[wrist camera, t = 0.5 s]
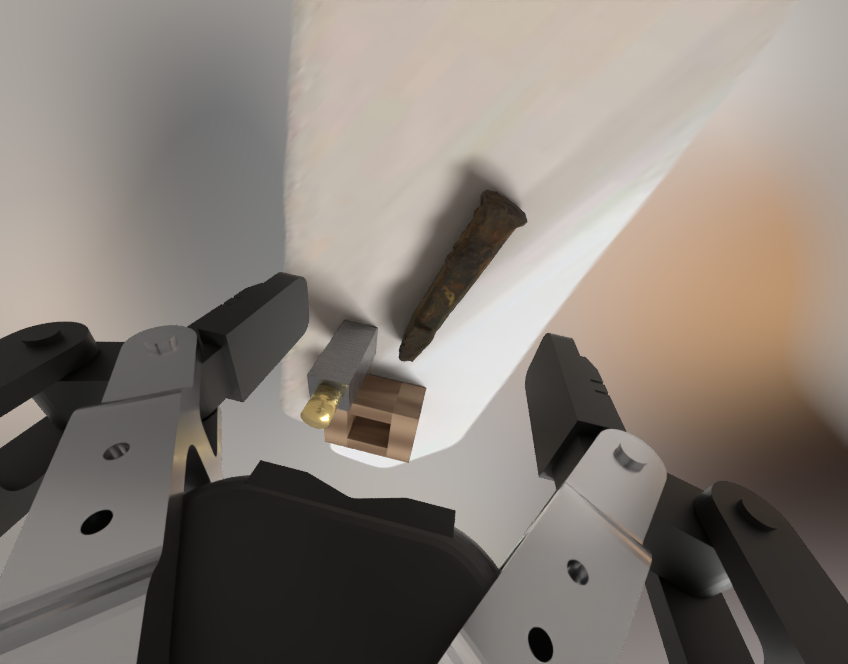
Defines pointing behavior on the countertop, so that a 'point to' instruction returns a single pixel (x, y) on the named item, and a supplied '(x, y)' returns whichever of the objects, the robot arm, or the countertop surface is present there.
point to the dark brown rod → (462, 269)
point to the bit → (339, 372)
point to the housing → (379, 419)
